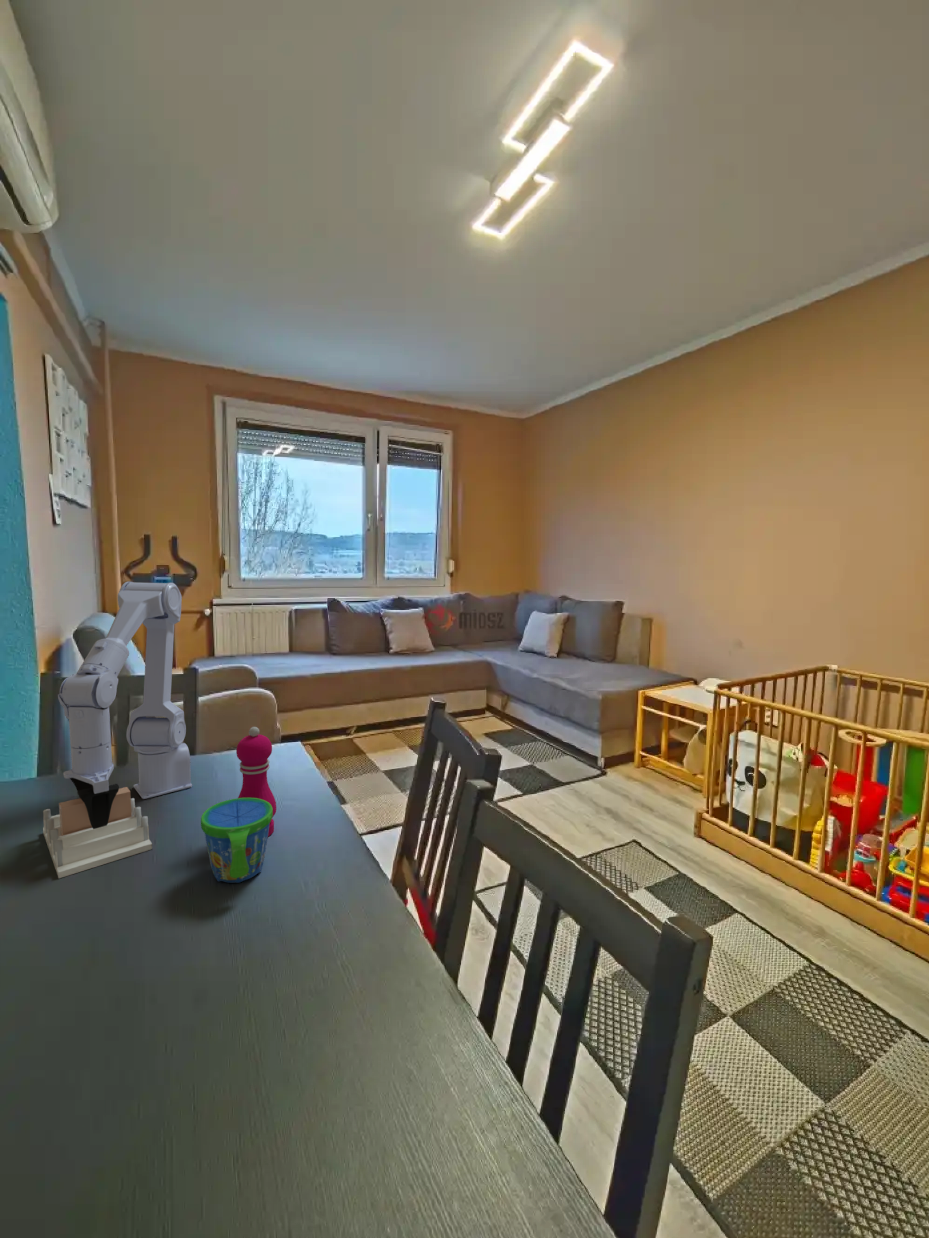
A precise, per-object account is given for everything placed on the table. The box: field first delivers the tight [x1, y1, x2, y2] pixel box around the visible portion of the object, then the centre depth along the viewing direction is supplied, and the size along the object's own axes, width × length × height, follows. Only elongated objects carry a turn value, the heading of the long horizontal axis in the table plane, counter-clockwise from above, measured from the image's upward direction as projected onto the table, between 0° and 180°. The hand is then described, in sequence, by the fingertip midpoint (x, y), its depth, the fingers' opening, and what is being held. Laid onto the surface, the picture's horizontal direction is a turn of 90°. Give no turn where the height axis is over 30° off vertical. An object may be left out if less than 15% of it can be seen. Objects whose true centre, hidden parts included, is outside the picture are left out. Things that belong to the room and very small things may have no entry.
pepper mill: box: [235, 726, 277, 838], centre depth 99 cm, size 7×7×20 cm
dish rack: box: [42, 797, 153, 879], centre depth 95 cm, size 13×18×5 cm
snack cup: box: [200, 797, 274, 884], centre depth 87 cm, size 16×10×10 cm
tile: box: [58, 786, 132, 836], centre depth 95 cm, size 10×2×7 cm, turn 133°
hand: (95, 818), depth 95 cm, fingers open, 7 cm apart
